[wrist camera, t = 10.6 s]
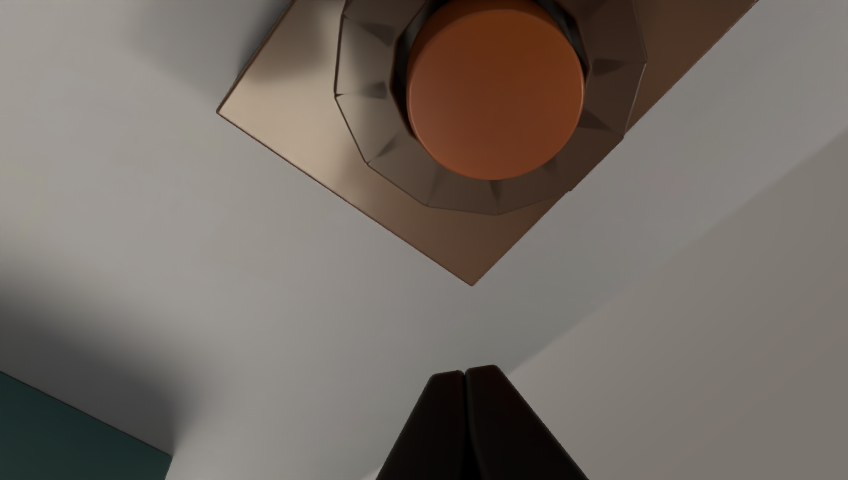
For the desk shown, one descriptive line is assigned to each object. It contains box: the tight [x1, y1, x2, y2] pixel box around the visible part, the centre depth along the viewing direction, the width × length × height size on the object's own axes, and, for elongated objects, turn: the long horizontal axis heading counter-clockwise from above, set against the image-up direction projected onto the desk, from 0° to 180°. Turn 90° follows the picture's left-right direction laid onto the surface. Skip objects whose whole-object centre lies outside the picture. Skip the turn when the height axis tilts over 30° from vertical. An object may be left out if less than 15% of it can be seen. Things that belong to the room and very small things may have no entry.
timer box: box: [216, 0, 758, 286], centre depth 17 cm, size 10×8×4 cm
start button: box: [406, 0, 585, 180], centre depth 15 cm, size 3×3×2 cm
